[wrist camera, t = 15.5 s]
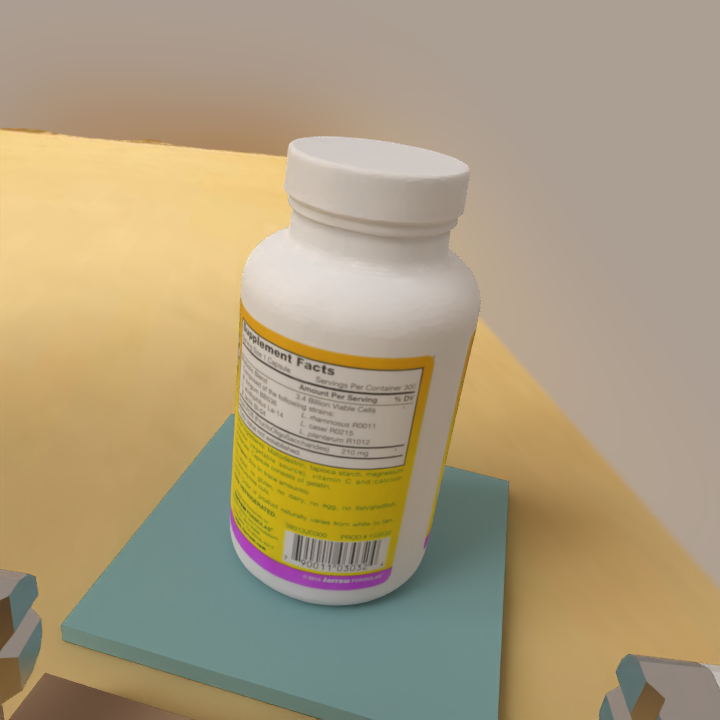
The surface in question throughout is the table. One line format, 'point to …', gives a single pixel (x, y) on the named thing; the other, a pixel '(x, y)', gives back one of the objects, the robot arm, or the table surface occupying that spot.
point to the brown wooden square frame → (82, 704)
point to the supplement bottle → (350, 370)
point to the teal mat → (308, 609)
